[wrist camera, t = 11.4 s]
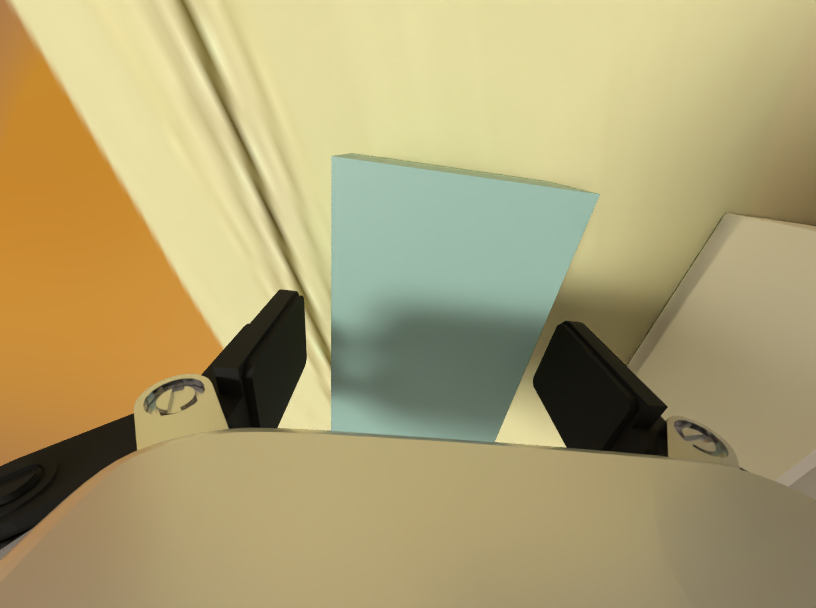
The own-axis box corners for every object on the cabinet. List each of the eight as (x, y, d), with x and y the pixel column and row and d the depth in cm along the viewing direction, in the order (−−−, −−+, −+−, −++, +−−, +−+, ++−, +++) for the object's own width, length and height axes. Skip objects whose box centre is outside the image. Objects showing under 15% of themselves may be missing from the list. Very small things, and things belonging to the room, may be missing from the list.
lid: (358, 152, 10) (331, 155, 7) (529, 177, 11) (599, 194, 7) (348, 384, 16) (331, 461, 12) (463, 393, 16) (482, 471, 13)
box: (725, 212, 12) (1036, 276, 6) (834, 228, 12) (1225, 303, 6) (602, 404, 17) (703, 536, 11) (680, 411, 17) (817, 542, 12)
